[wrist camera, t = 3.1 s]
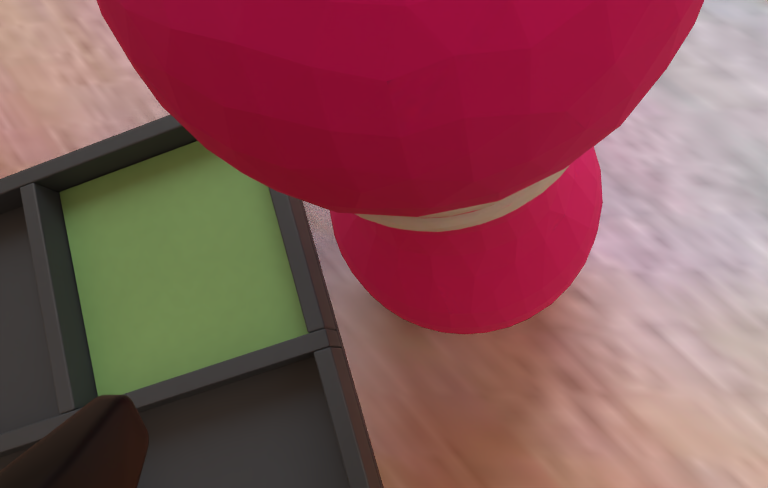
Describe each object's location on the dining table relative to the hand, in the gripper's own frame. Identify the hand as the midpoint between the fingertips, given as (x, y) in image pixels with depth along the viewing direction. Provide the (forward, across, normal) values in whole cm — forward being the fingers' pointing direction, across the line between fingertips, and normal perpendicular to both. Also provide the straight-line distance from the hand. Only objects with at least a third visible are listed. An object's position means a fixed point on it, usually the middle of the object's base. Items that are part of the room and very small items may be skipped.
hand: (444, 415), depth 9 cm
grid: (+8, +13, +10) cm, 18 cm away
